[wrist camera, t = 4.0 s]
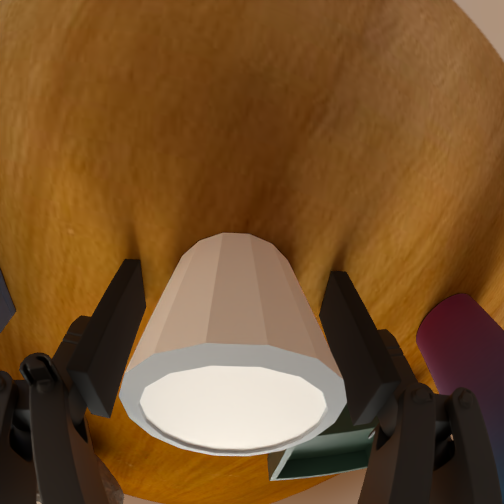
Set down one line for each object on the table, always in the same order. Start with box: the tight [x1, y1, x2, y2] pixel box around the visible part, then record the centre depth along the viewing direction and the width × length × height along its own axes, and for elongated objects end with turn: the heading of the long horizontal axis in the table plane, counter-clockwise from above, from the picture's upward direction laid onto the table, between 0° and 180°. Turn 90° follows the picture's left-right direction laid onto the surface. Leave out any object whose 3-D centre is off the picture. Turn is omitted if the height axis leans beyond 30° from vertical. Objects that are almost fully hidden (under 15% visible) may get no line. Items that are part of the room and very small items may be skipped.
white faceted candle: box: [119, 233, 347, 456], centre depth 11 cm, size 7×7×7 cm
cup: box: [416, 294, 504, 504], centre depth 10 cm, size 7×7×15 cm
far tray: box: [267, 403, 379, 481], centre depth 21 cm, size 11×11×3 cm
